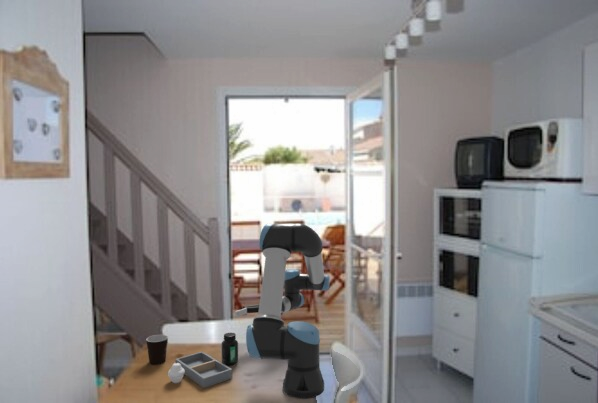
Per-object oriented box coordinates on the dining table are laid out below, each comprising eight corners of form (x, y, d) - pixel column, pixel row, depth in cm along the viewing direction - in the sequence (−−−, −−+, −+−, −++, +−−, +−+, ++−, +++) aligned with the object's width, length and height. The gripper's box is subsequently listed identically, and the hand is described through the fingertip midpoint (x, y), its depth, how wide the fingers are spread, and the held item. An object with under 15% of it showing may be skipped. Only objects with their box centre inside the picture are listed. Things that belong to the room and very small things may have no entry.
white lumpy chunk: (167, 379, 161) (167, 361, 161) (184, 376, 164) (183, 358, 163) (168, 386, 156) (168, 367, 155) (185, 383, 158) (185, 365, 158)
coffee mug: (161, 366, 172) (161, 342, 172) (142, 365, 174) (142, 341, 174) (175, 355, 184) (175, 333, 183) (157, 354, 185) (157, 331, 185)
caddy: (232, 378, 162) (232, 369, 162) (203, 388, 154) (203, 378, 154) (202, 359, 180) (202, 351, 180) (175, 367, 172) (175, 359, 172)
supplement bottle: (236, 366, 173) (236, 337, 172) (220, 366, 173) (219, 337, 172) (239, 359, 180) (239, 331, 179) (223, 359, 180) (223, 331, 179)
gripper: (299, 319, 192) (267, 332, 176) (259, 309, 208) (227, 320, 191) (299, 302, 192) (267, 314, 175) (259, 294, 208) (227, 303, 191)
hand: (246, 317), depth 183 cm, fingers open, 13 cm apart
